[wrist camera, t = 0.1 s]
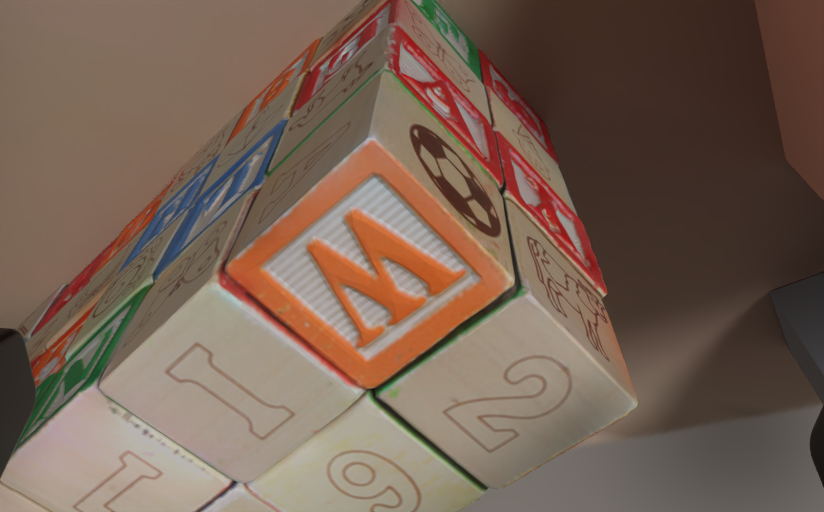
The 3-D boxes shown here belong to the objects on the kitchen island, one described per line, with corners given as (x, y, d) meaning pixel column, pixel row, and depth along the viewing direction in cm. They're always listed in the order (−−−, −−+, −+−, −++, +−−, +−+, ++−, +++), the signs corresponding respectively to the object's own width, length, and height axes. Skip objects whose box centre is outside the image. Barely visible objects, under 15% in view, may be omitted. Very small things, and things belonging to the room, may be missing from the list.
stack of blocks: (111, 465, 30) (-58, 826, 20) (-32, 372, 28) (-307, 726, 18) (550, 120, 23) (653, 416, 12) (404, -49, 20) (374, 138, 10)
